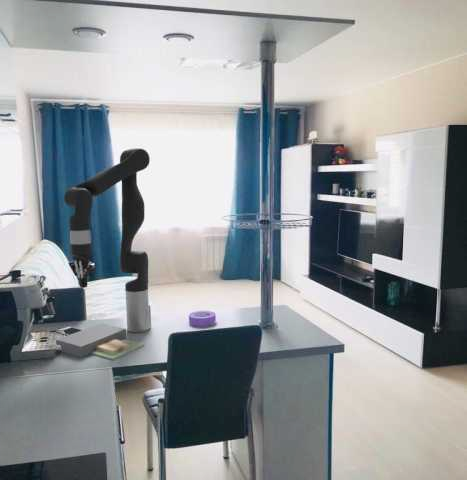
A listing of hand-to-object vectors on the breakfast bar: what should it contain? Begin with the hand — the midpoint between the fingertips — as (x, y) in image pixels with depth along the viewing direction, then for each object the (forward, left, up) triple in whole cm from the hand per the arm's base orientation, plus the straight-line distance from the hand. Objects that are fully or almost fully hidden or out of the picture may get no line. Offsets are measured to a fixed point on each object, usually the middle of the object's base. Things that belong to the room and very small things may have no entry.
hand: (83, 287), depth 177 cm
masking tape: (-44, +23, -23) cm, 55 cm away
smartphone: (-6, -15, -23) cm, 29 cm away
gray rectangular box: (-1, +2, -23) cm, 23 cm away
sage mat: (-2, +15, -23) cm, 27 cm away
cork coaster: (-1, +13, -22) cm, 26 cm away
